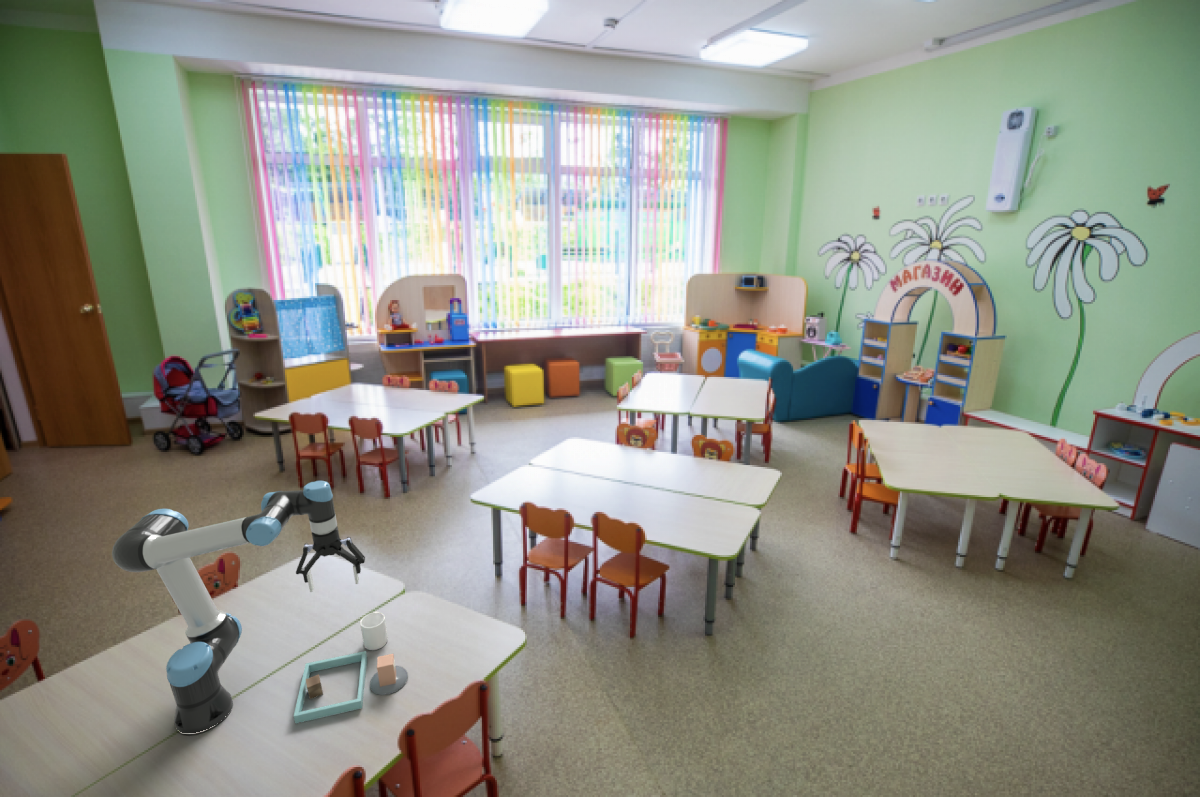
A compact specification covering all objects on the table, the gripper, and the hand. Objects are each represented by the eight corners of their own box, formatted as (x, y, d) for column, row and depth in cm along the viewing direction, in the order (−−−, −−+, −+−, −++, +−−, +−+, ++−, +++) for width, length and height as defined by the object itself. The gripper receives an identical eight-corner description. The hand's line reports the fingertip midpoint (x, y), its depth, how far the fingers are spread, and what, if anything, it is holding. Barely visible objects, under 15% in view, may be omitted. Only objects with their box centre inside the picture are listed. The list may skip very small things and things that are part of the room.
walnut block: (309, 699, 186) (307, 687, 184) (308, 691, 189) (305, 679, 188) (323, 694, 188) (320, 682, 186) (321, 686, 191) (318, 674, 190)
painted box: (396, 683, 191) (393, 664, 189) (380, 686, 190) (376, 667, 187) (396, 672, 196) (393, 653, 193) (380, 675, 194) (377, 656, 192)
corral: (295, 723, 177) (293, 716, 176) (307, 670, 198) (305, 663, 197) (362, 708, 183) (360, 700, 182) (367, 657, 203) (366, 650, 202)
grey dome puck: (368, 698, 186) (368, 697, 186) (371, 671, 197) (371, 670, 197) (407, 689, 189) (407, 688, 189) (407, 663, 200) (407, 662, 200)
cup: (361, 652, 205) (358, 629, 202) (368, 629, 217) (364, 607, 213) (386, 649, 207) (382, 626, 204) (391, 626, 218) (387, 604, 215)
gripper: (367, 516, 186) (376, 571, 193) (282, 529, 179) (294, 585, 186) (366, 528, 180) (374, 585, 187) (277, 541, 173) (290, 600, 180)
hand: (334, 585), depth 186 cm, fingers open, 13 cm apart
